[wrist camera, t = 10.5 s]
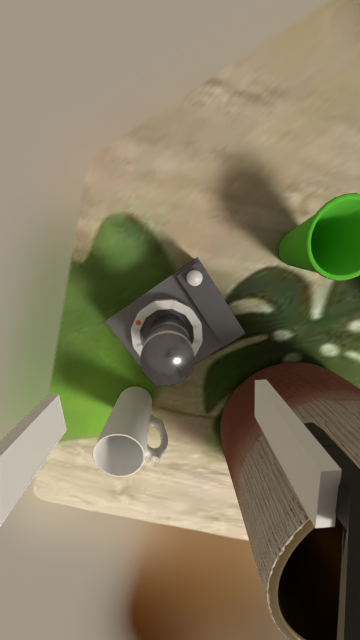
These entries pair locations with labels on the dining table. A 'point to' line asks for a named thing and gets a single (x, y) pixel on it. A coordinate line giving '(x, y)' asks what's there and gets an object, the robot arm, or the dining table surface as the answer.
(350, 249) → the cup
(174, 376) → the lens
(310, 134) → the dining table surface
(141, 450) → the mug
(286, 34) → the dining table surface
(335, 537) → the planter
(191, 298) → the camera body
